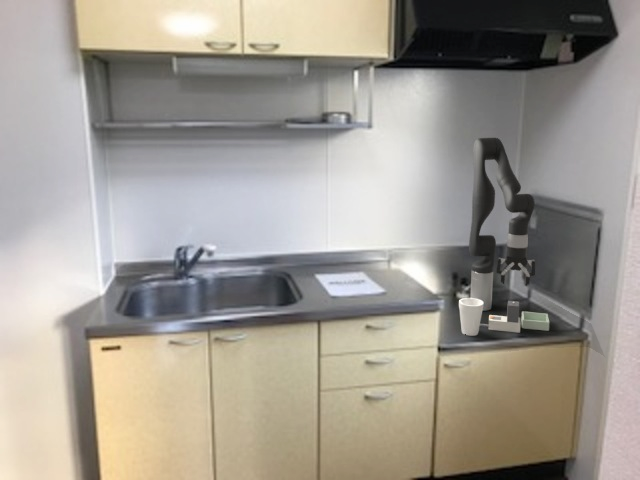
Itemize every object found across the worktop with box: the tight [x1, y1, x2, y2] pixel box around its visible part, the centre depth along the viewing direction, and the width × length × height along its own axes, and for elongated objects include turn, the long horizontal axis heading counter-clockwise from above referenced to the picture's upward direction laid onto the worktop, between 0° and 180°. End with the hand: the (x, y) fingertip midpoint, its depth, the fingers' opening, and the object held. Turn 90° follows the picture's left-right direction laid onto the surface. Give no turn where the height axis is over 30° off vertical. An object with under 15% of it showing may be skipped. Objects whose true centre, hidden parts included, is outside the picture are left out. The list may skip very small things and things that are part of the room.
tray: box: [520, 311, 550, 332], centre depth 220 cm, size 10×10×4 cm
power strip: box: [479, 314, 522, 334], centre depth 218 cm, size 6×18×4 cm, turn 72°
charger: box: [506, 300, 520, 323], centre depth 215 cm, size 6×4×9 cm
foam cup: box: [458, 297, 484, 337], centre depth 213 cm, size 10×9×13 cm
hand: (514, 284), depth 212 cm, fingers open, 8 cm apart
